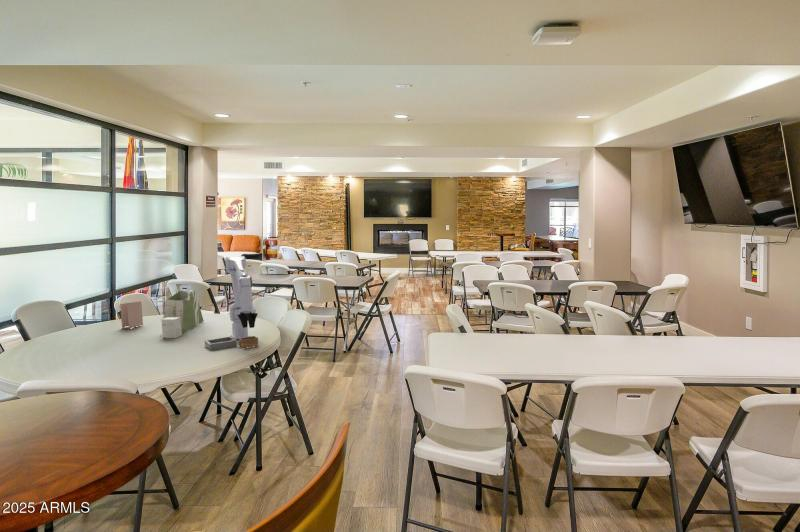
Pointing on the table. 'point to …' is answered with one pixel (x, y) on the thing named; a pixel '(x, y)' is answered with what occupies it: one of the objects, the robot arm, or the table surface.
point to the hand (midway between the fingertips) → (248, 327)
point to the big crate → (220, 343)
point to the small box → (171, 327)
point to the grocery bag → (184, 309)
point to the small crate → (248, 342)
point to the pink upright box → (131, 314)
